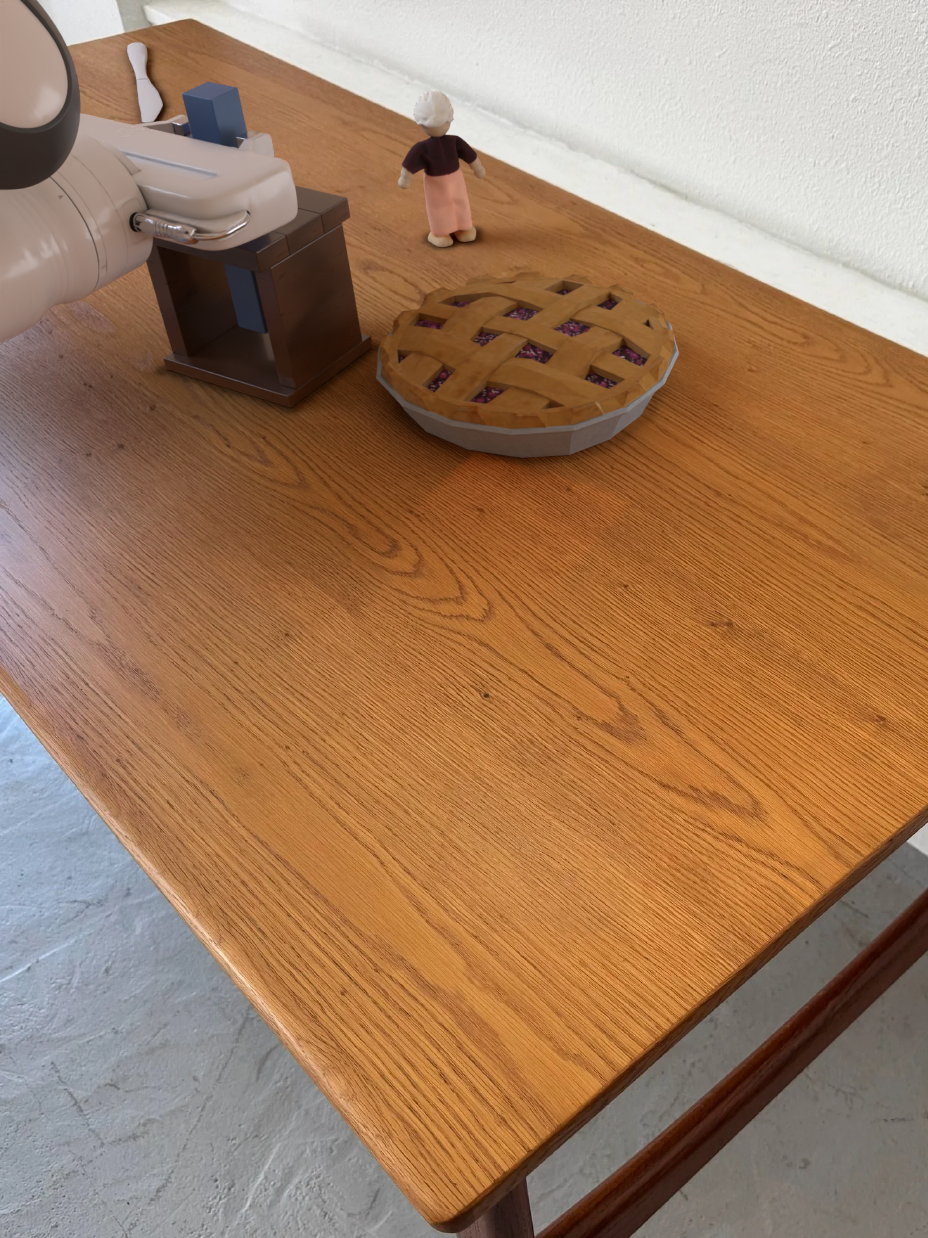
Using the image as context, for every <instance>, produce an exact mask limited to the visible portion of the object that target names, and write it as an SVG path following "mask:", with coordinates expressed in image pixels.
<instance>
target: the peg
mask: <svg viewBox="0 0 928 1238" xmlns="http://www.w3.org/2000/svg"><path fill="white" fill-rule="evenodd" d="M181 97H182V101H183V105H184V109H185V113H186V116H187V117H188V121H189V126H190V130H191V134H192V138H193V139H197V140H202V141H206V142H211V143H215V144H219V145H224V146H228V147H235V148H237V149H238V148H239V147H238V144H237V140H236V137H237V136H239V135H241V134H243V133H247V131H248V129H247V125H246V120H245V115H244V111H243V107H242V102H241V96H240V92H239V88H238V87H236V86H231V85H226V84H222V83H218V82H213V81H206V82H204V83H201V84H199V85H197V86H194V87H193V88H190V89H188V90H185V91H184V92H182V93H181ZM223 264H224V263H223ZM224 268H225V272H226V276H227V280H228V284H229V288H230V292H231V296H232V300H233V304H234V308H235V312H236V317H237V321H238V325H239V327H242V328H246V329H249V330H253V331H256V332H260V333H263V334H267V333H268V329H267V324H266V320H265V316H264V311H263V307H262V303H261V298H260V294H259V289H258V285H257V281H256V276H255V272H254V271H250V270H247V269H243V268H239V267H236V266H232V265H228V264H224Z"/></svg>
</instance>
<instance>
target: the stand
mask: <svg viewBox="0 0 928 1238" xmlns="http://www.w3.org/2000/svg"><path fill="white" fill-rule="evenodd" d="M295 189H296V195H297V203H298V211H297V215H296V217H295V218H294V219H293V220H292V221H291V222H289V223H287V224H285V225H284V226H282V227H280V228H278V229H275V230H273V231H271V232H269V233H267V234H265V235H263V236H261V237H258V238H256V239H254V240H252V241H249V242H247V243H244V244H242V245H239V246H236V247H233V248H229V249H225V250H217V251H209V250H202V249H197V248H193V247H189V246H186V245H182V244H178V243H174V242H171V241H167V240H163V239H159V238H155V237H153V245H152V250H151V253H150V255H149V257H148V259H147V260H146V262H145V263H146V267H147V270H148V273H149V276H150V280H151V284H152V287H153V288H152V289H153V291H154V294H155V298H156V301H157V305H158V308H159V312H160V314H161V318H162V321H163V325H164V329H165V332H166V335H167V339H168V342H169V343H168V344H169V346H170V350H171V352H170V353H169V354H167V355H166V356H164V357H162V358H163V362H164V366H165V369H166V370H167V371H170V372H174V373H177V374H180V375H184V376H186V377H190V378H193V379H196V380H200V381H203V382H206V383H209V384H213V385H216V386H219V387H222V388H225V389H228V390H232V391H235V392H239V393H242V394H244V395H248V396H251V397H254V398H257V399H261V400H264V401H268V402H271V403H273V404H277V405H280V406H283V407H286V408H290V409H291V408H293V407H294V406H295V405H297V404H298V403H300V402H301V401H302V400H303V399H305V398H307V397H308V396H309V395H310V394H312V393H313V392H315V391H316V390H317V389H319V388H320V387H321V386H322V385H323V384H325V383H326V382H328V381H329V380H330V379H332V378H333V377H335V376H336V375H337V374H338V373H340V372H341V371H342V370H343V369H345V368H346V367H348V366H349V365H350V364H352V363H353V362H354V361H356V360H357V359H359V358H360V357H361V356H362V355H364V354H365V353H367V352H368V351H369V350H371V349H373V341H372V336H371V335H369V334H364V333H362V329H361V324H360V319H359V313H358V306H357V301H356V295H355V290H354V289H355V288H354V284H353V277H352V271H351V266H350V260H349V254H348V249H347V242H346V238H345V232H344V226H343V223H344V222H345V221H347V220H349V219H350V218H351V212H350V211H351V210H350V205H349V199H348V197H346V196H342V195H337V194H333V193H329V192H325V191H321V190H316V189H312V188H307V187H303V186H298V185H295ZM223 263H224V264H228V265H232V266H236V267H239V268H243V269H247V270H250V271H254V272H255V276H256V281H257V285H258V289H259V294H260V298H261V303H262V307H263V311H264V316H265V320H266V324H267V329H268V333H267V334H263V333H260V332H256V331H253V330H249V329H246V328H242V327H239V325H238V321H237V317H236V312H235V308H234V304H233V300H232V296H231V292H230V288H229V284H228V280H227V276H226V272H225V268H224V264H223Z"/></svg>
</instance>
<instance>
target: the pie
mask: <svg viewBox="0 0 928 1238" xmlns="http://www.w3.org/2000/svg"><path fill="white" fill-rule="evenodd" d="M377 349H378V350H377V359H376V362H377V363H376V374H375V375H376V376H375V379H376V380H377V381H378V382H379V383H380V384H381V386H383V387H384V389H385V390H386V391H387V392H388V393H389V394H390V395H391V396H392V397H393V398H394V399H395V400H396V401H397V402H398V403H399V405H400V406H401V407H402V409H403V410H404V412H405V413H406V414H408V416H409V417H410V418H411V419H412V420H414V421H415V422H416V423H417V424H418V425H419V427H421V428H422V429H423V430H424V432H426V433H428V434H431V435H433V436H435V437H437V438H440V439H442V440H444V441H447V442H449V443H451V444H454V445H456V446H459V447H460V448H463V449H465V450H468V451H474V452H481V453H487V454H493V455H500V456H508V457H513V458H524V459H525V458H541V457H556V456H557V457H558V456H571V455H573V454H575V453H578V452H581V451H585V450H587V449H589V448H592V447H594V446H596V445H599V444H602V443H604V442H607V441H610V440H611V439H613V438H614V437H615V436H616V435H618V434H619V433H620V432H622V431H623V430H624V429H625V428H626V427H628V426H630V425H631V424H632V423H633V422H634V421H636V420H637V419H639V418H640V417H641V416H642V415H643V413H644V411H645V410H646V408H647V406H648V405H649V402H650V401H651V400H652V397H653V396H654V394H655V393H656V392H657V391H658V390H660V389H661V388H662V387H663V386H664V385H665V384H666V382H667V379H668V377H669V375H670V374H671V371H672V370H673V367H674V365H675V363H676V361H677V359H678V357H679V355H680V352H679V348H678V344H677V340H676V338H675V334H674V330H673V327H672V324H671V323H670V322H669V321H668V320H667V319H666V316H665V312H663V310H662V309H660V307H658V306H657V305H656V304H654V303H643V302H642V301H641V300H639V299H637V298H636V296H635V295H634V292H632V291H630V290H629V289H627V288H626V287H624V286H622V285H621V284H619V283H615V284H612V285H611V286H608V287H607V286H602V285H597V284H595V283H594V282H593V281H592V279H591V278H590V276H588V275H580V274H570V275H568V276H565V277H562V278H557V277H550V276H545V275H544V274H541V273H540V271H519V272H518V273H516V274H515V275H513V276H510V277H509V276H508V277H501V278H496V277H495V276H492V275H490V274H488V273H486V274H482V275H478V276H474V277H470V278H468V279H467V281H466V283H465V285H463V286H460V287H458V288H455V289H448V288H445V287H442V286H441V287H438V288H437V289H436V288H435V290H433V291H430V292H428V293H427V294H425V296H424V298H423V301H422V303H421V305H420V307H418V308H415V309H409V310H403V311H401V312H400V313H399V314H398V315H397V316H396V317H395V318H394V319H393V323H392V330H391V332H390V333H389V334H388V335H383V337H382V339H381V341H380V344H379V346H378V348H377Z"/></svg>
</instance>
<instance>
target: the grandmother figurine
mask: <svg viewBox="0 0 928 1238" xmlns="http://www.w3.org/2000/svg"><path fill="white" fill-rule="evenodd" d="M454 111H455V110H454V108H453V105H452V103H451V100H450V99H449V97H448V96H447V94H445V93H444V92H442V91H438V90H429V91H426V92H425V93H423V94H422V95H420V96H419V97H418V99H417V100H416V102H415V105H414V109H413V117H414V120H415V122H416V124H417V125H418V126H419V127H420V128H421V129H422V131H423V132H424V133H425V134H426V135H427V136H428V138H426V139H423V140H419V141H418V142H416V143H414V144H413V145H412V147H411V148H410V149H409V150H408V152H407V153H406V155H405V157H404V159H403V161H402V163H401V166H402V167H401V171H400V177H399V179H398V180H397V184H398V187H399V188H401V189H403V190H407V189H410V186H411V181H412V179H413V177H414V175H415V174H417V173H418V172H420V171H423V179H422V180H423V181H422V182H423V189H424V190H423V191H424V197H425V198H424V199H425V207H426V213H427V219H428V225H429V229H430V232H429V233H428V236H427V240H428V242H430V243H431V244H432V245H434V246H436V247H438V248H446V247H449V246H452V245H453V243H454V241H453V239H452V237H451V235H450V234H452V233H454V235H455V237H456V239H457V240H458V241H459V242H461V243H462V242H463V243H466V242H472V241H474V240H476V236H477V228H476V227H475V226H474V225H473V219H472V213H471V205H470V200H469V195H468V190H467V187H466V186H467V185H466V181H465V177H464V173H463V171H462V168H461V165H460V160H462V161H463V162H464V163H466V164H467V165H468V166H469V168H470V170H472V171H473V175H474V176H475V178H477V179H484V177H485V176H486V174H487V171H486V169H485V167H484V166H483V165H482V162H481V160H480V159H479V156H478V153H477V152H476V151H475V150H474V149H473V148H472V146H470V144H469V143H468V142H467V141H466V140H465V139H464V138H462V137H460V136H459V135H456V134H447V133H448V132H449V130H450V128H451V123H453V121H454V120H455V118H454V114H455V112H454Z"/></svg>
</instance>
